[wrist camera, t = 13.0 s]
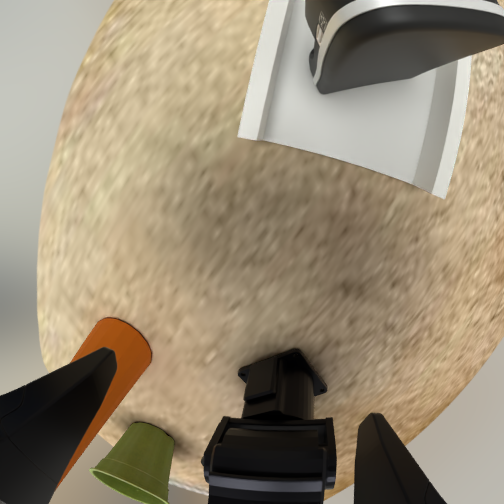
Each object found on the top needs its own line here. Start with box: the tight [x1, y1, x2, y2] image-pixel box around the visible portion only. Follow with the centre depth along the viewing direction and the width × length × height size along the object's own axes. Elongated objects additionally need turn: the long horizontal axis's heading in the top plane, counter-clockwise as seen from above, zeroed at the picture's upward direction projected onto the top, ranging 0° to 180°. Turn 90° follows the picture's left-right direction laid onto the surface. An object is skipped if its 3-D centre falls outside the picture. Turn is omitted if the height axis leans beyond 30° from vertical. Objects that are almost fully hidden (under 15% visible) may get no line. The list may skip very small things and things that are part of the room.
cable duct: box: [238, 0, 472, 199], centre depth 12 cm, size 14×12×4 cm
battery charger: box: [305, 0, 504, 94], centre depth 8 cm, size 7×4×11 cm, turn 109°
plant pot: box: [89, 422, 175, 504], centre depth 29 cm, size 12×12×11 cm
